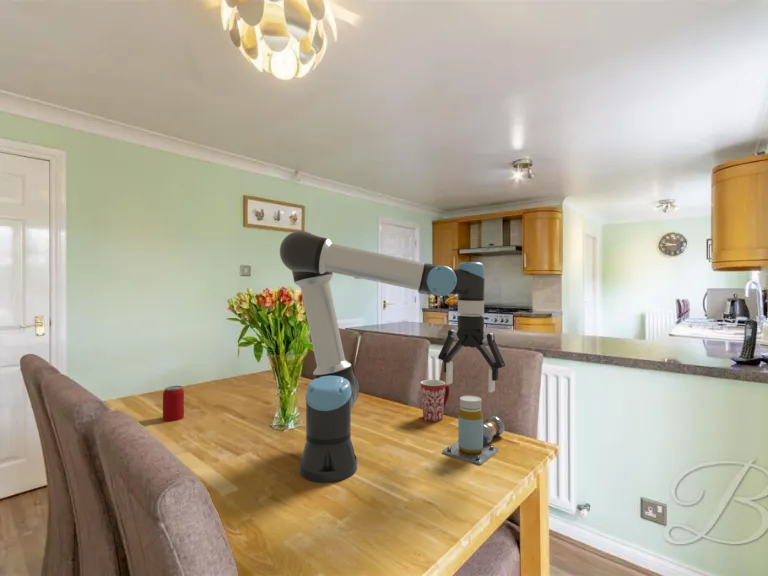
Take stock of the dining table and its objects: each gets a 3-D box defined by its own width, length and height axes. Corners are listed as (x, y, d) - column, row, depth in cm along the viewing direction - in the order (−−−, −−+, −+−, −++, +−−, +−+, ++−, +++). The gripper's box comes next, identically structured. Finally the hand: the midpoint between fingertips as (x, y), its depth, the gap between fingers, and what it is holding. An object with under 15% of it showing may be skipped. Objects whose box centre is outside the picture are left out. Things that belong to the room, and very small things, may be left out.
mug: (432, 424, 139) (432, 386, 139) (415, 417, 147) (415, 381, 147) (457, 418, 147) (457, 381, 147) (440, 411, 154) (440, 377, 154)
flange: (480, 465, 108) (480, 443, 108) (442, 453, 115) (442, 432, 115) (513, 439, 126) (513, 420, 126) (478, 430, 134) (478, 412, 134)
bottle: (485, 454, 112) (485, 401, 112) (460, 454, 113) (460, 401, 113) (480, 444, 119) (479, 395, 119) (456, 444, 120) (456, 395, 120)
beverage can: (187, 417, 146) (187, 385, 146) (176, 424, 140) (176, 390, 140) (170, 417, 147) (170, 385, 147) (158, 423, 140) (158, 389, 140)
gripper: (517, 316, 111) (516, 392, 111) (440, 312, 127) (439, 378, 127) (507, 318, 105) (505, 398, 105) (427, 313, 121) (426, 382, 121)
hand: (469, 387), depth 116 cm, fingers open, 13 cm apart
